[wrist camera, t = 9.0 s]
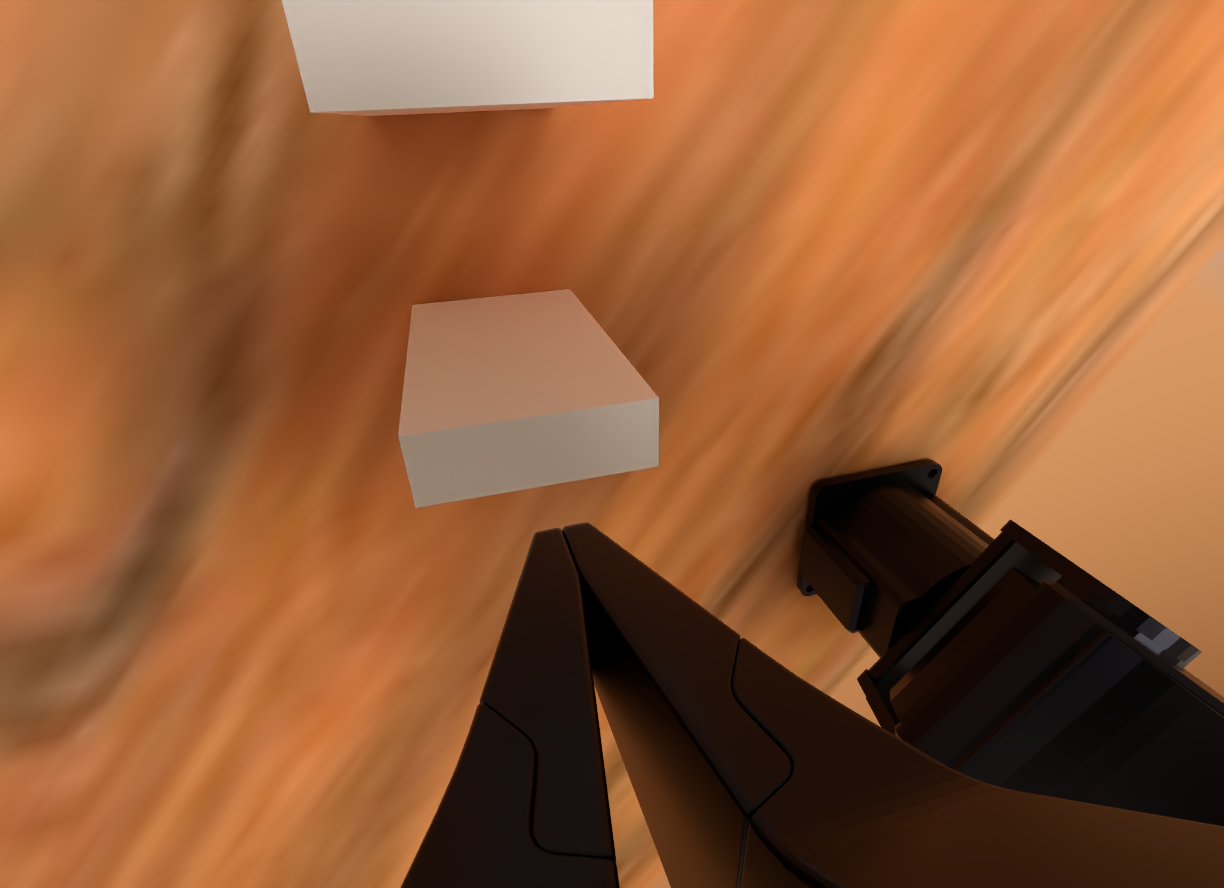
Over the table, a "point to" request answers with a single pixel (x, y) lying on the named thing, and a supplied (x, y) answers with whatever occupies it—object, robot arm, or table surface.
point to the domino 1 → (470, 54)
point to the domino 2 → (518, 398)
